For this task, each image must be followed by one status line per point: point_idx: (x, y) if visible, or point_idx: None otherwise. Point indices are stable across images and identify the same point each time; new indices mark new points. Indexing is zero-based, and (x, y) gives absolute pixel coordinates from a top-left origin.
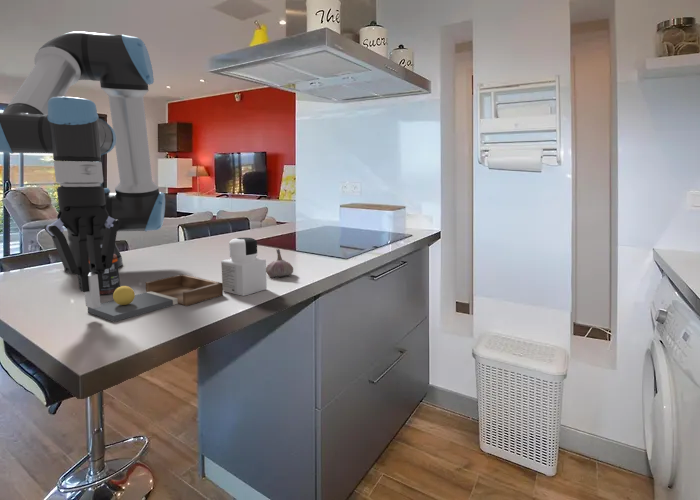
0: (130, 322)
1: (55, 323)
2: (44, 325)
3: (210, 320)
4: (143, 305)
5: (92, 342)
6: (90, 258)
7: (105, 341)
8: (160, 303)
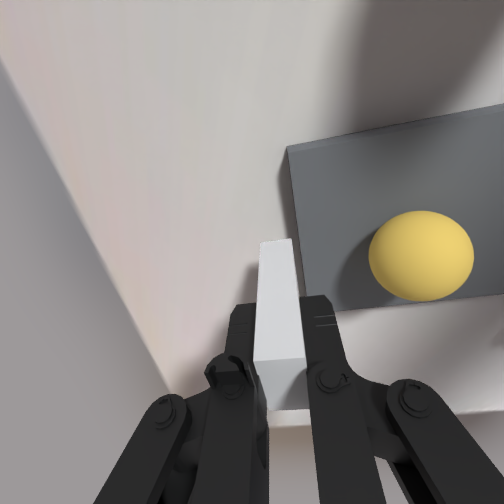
0: None
1: (168, 201)
2: (136, 198)
3: (451, 407)
4: None
5: None
6: (320, 500)
7: None
8: (482, 295)
